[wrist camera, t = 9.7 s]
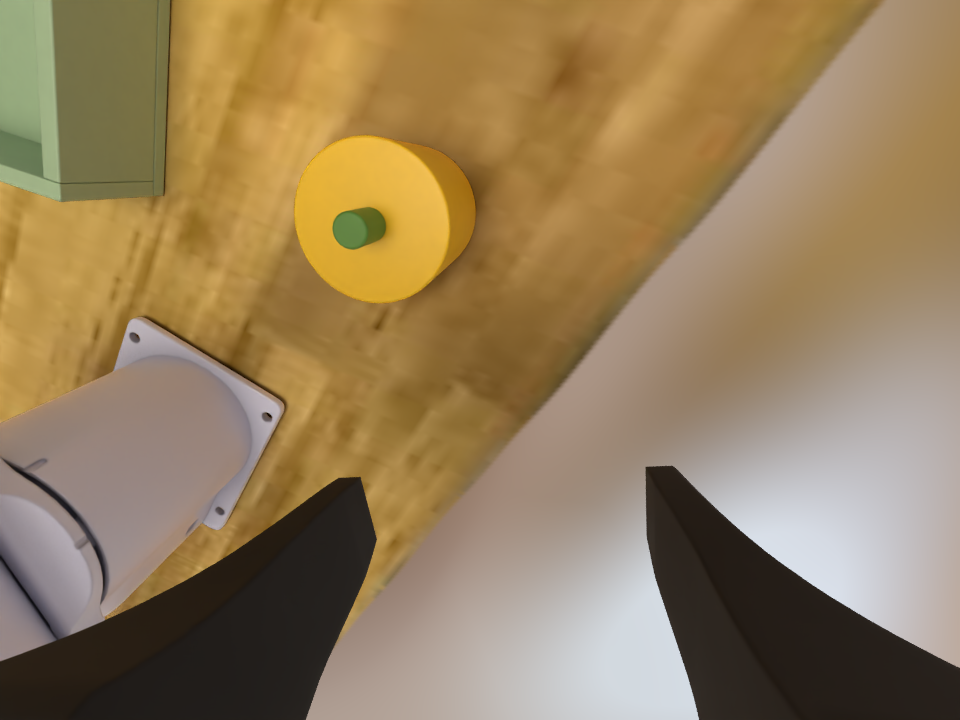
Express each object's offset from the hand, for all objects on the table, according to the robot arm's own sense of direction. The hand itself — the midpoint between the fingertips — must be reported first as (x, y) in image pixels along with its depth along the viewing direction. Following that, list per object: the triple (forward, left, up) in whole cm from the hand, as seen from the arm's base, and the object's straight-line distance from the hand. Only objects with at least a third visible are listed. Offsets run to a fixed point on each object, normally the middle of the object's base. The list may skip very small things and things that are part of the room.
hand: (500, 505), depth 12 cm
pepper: (+3, +7, -9) cm, 12 cm away
